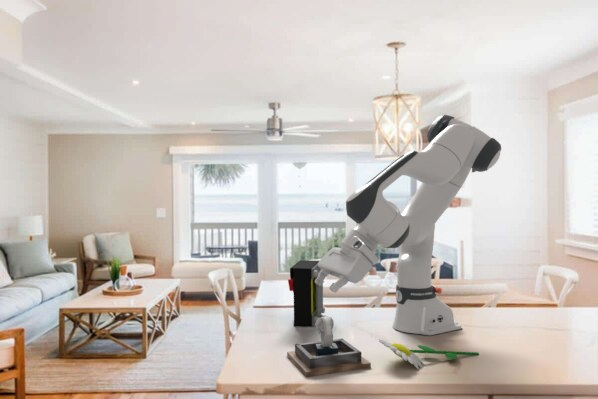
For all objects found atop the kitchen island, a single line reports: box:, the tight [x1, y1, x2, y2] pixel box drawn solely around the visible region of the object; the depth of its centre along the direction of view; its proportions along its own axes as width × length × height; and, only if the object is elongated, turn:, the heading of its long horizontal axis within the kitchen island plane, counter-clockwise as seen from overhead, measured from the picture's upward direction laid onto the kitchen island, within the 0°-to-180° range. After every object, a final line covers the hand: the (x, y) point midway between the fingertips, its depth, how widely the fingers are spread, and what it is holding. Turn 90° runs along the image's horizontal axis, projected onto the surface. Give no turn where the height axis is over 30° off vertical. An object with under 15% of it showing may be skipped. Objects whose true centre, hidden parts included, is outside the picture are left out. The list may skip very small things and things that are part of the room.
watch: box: [314, 315, 338, 356], centre depth 132 cm, size 6×8×11 cm
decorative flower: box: [378, 338, 480, 370], centre depth 133 cm, size 13×5×30 cm
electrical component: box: [287, 259, 326, 328], centre depth 174 cm, size 18×10×20 cm, turn 168°
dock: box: [286, 338, 372, 378], centre depth 132 cm, size 18×16×4 cm
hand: (324, 287), depth 132 cm, fingers open, 8 cm apart
